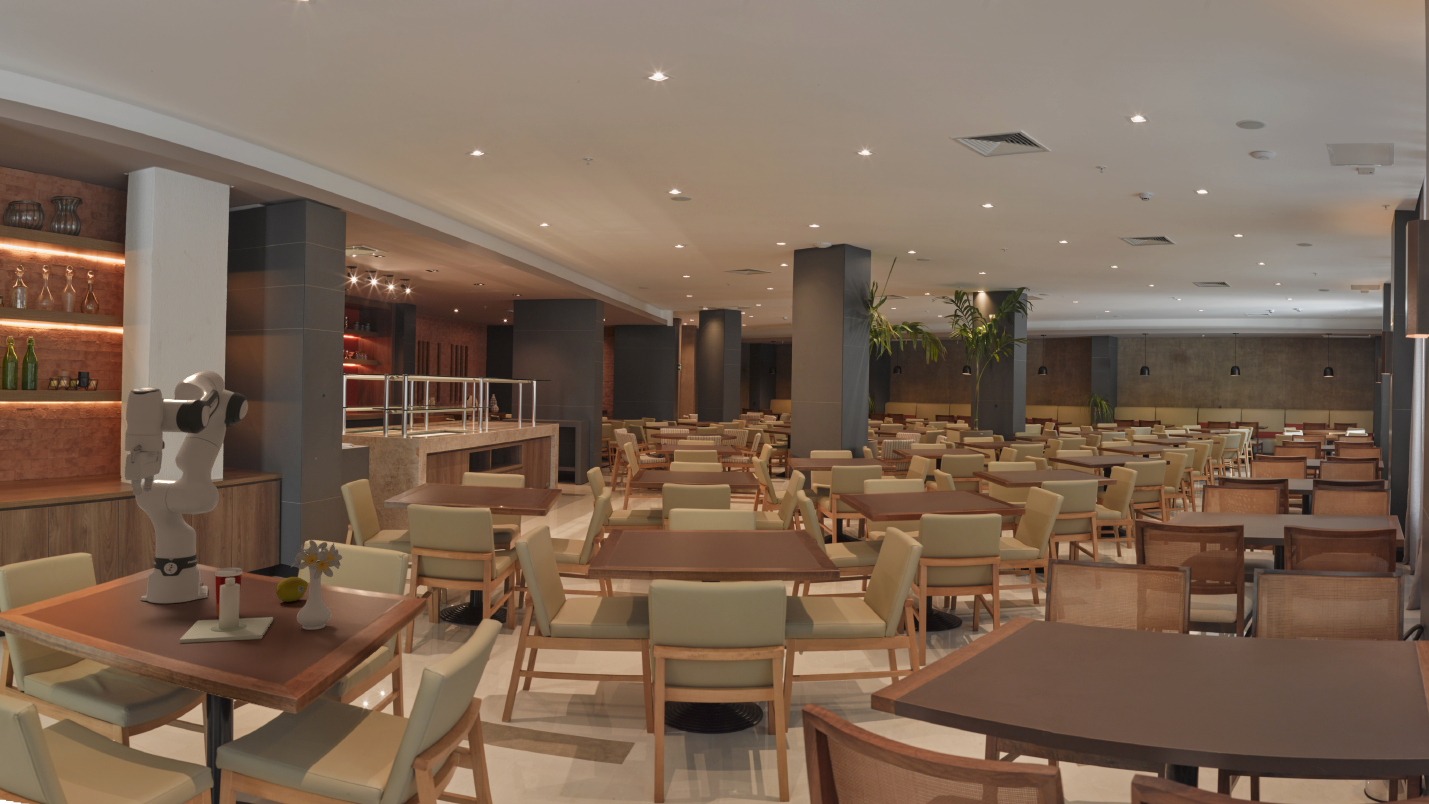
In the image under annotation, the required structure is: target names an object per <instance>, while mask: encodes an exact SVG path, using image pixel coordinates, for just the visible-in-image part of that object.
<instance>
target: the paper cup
mask: <svg viewBox="0 0 1429 804" xmlns="http://www.w3.org/2000/svg"><path fill="white" fill-rule="evenodd" d="M243 574H244V572H243V570H242V568H240V567H223V568H218V569H216V571H215V573H214V577H215V604H216V605H215V606H216V617H217V616H218V617H217V618H219V603H220V586H221V585H223V584H225V579H226V578H235V584H240V589H241V587H242V575H243Z"/></svg>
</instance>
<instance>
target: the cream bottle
mask: <svg viewBox="0 0 1429 804" xmlns="http://www.w3.org/2000/svg"><path fill="white" fill-rule="evenodd" d="M240 598H241V588H240V584H235V578H226V579H225V584H223V585H221V586H220V603H219V617H218V620H219V629H234V628H237V627H239V619H240Z"/></svg>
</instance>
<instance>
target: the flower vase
mask: <svg viewBox="0 0 1429 804" xmlns="http://www.w3.org/2000/svg"><path fill="white" fill-rule="evenodd" d="M309 545H310V546H309V548H304V544H303V543H301V546H300V548H299V552H298V553H297V554H296V556H295V558H294V562H293V563H292V564H291V566H290V568H293V566H295V565H297V564H298V563H299V562H301V561H302V562H301V563H300V564H299V565H298V570H303V569H305V568H307V567H308V571H309V586H308V587H309V588H308V597H307V599H306V602H305V604H304V605H303V606H302V607H301V608H300V609H299V611H298V612H297V615H296V621H297V622H298V623H299V624H300V625H302V629H303V630H306V631H307V630H309V631H317V630H321V629H324V628H325V627H326V624H327V623H328V622H329V621H330V620H331V618H332V611H331V609H330V608H329V607H328V606H327V605H326V604H325V602H324V600H323V597H322V588H321V587H322V583H321V582H322V575H323V574H324V575H325V576H326V577H329V578H332V577H333V576H334V573H333V572H334V571H333V570H332V569H331V568H332V567H334V568H336V569H337V570H340V567H341V562H340V561H341V560H343V555H341V554H339V550H338V549H336V547H335V543H334V542H332V544H331V546H330V548H329V549H328V548H327V547H328V542H326V541H324V542H323V541H322V542H321V543H319V545H318V544H317V543H316V542H315V541H314V540H313V539H311V540H309Z"/></svg>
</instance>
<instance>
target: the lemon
mask: <svg viewBox="0 0 1429 804" xmlns="http://www.w3.org/2000/svg"><path fill="white" fill-rule="evenodd" d="M308 585H309V583H308V581H307V580H305V579H303V578H301V577H298V576H290V577H286V578H283V579H282V580H280V582H279V583H278V584H277V586H276V592H275V593H276V597H277V598H278V599H279V600H281V601H282V602H284V603H293V601H294V602H296V601H298V600H300V599H301V598H302V597H303V596H304V595H305V594H306V591H307V589H308V587H309V586H308Z"/></svg>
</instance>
